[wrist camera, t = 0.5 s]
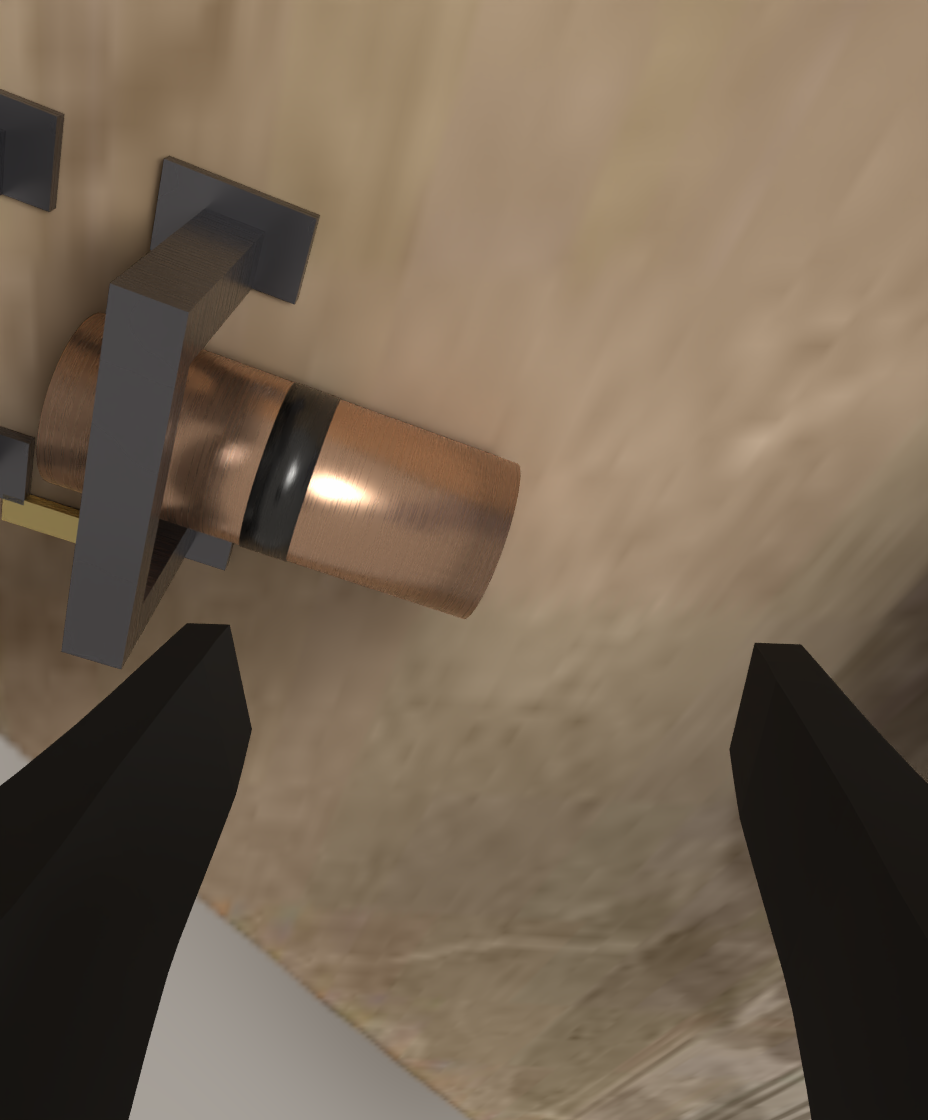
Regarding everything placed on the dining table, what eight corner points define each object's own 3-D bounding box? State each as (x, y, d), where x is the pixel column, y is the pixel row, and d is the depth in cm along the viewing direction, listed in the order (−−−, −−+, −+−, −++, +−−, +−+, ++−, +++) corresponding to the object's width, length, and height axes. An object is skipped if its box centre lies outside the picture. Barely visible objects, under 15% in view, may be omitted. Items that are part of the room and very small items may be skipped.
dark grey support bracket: (319, 215, 17) (254, 297, 13) (228, 563, 22) (160, 702, 18) (169, 155, 17) (52, 221, 12) (110, 525, 22) (13, 658, 18)
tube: (524, 431, 19) (515, 533, 17) (468, 546, 22) (452, 652, 19) (121, 282, 18) (38, 366, 15) (106, 422, 20) (33, 517, 17)
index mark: (131, 527, 22) (126, 534, 21) (127, 551, 22) (122, 558, 22) (9, 487, 21) (3, 493, 21) (7, 513, 22) (1, 519, 21)
